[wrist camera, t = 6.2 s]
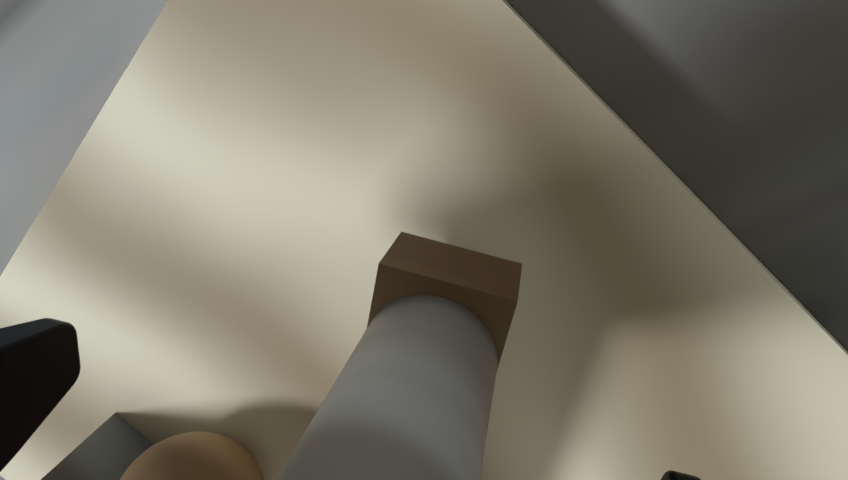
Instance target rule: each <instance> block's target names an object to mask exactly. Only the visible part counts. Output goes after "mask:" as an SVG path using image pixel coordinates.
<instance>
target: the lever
mask: <svg viewBox="0 0 848 480" xmlns="http://www.w3.org/2000/svg"><path fill="white" fill-rule="evenodd" d="M521 270H522V263H518V262H514V261H510V260H507V259H503V258H499V257H495V256H491V255H488V254H484V253H480V252H476V251H473V250H469V249H465V248H461V247H458V246H454V245H450V244H446V243H443V242H439V241H435V240H431V239H428V238H424V237H420V236H416V235H413V234H409V233H405V232H401V233H400V234H399V236H398V237H397V238H396V240H395V241H394V243H393V244H392V245H391V247H390V248H389V250H388V251H387V252H386V254H385V255H384V257H383V258H382V259H381V261H380V262H379V264H378V270H377V275H376V281H375V286H374V292H373V297H372V302H371V308H370V313H369V319H368V324H367V329H366V331H365V333H364V334H363V336H362V338H361V339H360V341H359V343H358V344H357V346H356V348H355V349H354V351H353V353H352V354H351V356H350V358H349V359H348V361H347V363H346V364H345V366H344V368H343V369H342V371H341V373H340V374H339V376H338V378H337V379H336V381H335V383H334V384H333V386H332V388H331V389H330V391H329V393H328V394H327V396H326V398H325V399H324V401H323V403H322V404H321V406H320V408H319V409H318V411H317V413H316V414H315V416H314V418H313V419H312V421H311V423H310V424H309V426H308V428H307V429H306V431H305V433H304V434H303V436H302V438H301V439H300V441H299V443H298V445H297V446H296V448H295V450H294V451H293V453H292V455H291V456H290V458H289V460H288V461H287V463H286V465H285V466H284V468H283V470H282V471H281V473H280V475H279V476H278V478H277V480H480V475H481V468H482V462H483V455H484V449H485V443H486V436H487V430H488V424H489V417H490V411H491V404H492V398H493V392H494V385H495V379H496V372H497V369H498V366H499V362H500V359H501V356H502V352H503V349H504V346H505V342H506V339H507V336H508V332H509V329H510V326H511V322H512V319H513V316H514V312H515V309H516V305H517V302H518V295H519V287H520V278H521Z"/></svg>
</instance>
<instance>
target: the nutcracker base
mask: <svg viewBox="0 0 848 480" xmlns="http://www.w3.org/2000/svg"><path fill="white" fill-rule="evenodd" d="M401 232H405V233H409V234H413V235H416V236H420V237H424V238H428V239H431V240H435V241H439V242H443V243H446V244H450V245H454V246H458V247H461V248H465V249H469V250H473V251H476V252H480V253H484V254H488V255H491V256H495V257H499V258H503V259H507V260H510V261H514V262H518V263H522V270H521V278H520V287H519V295H518V302H517V305H516V309H515V312H514V316H513V319H512V322H511V326H510V329H509V332H508V336H507V339H506V342H505V346H504V349H503V352H502V356H501V359H500V362H499V366H498V369H497V372H496V379H495V385H494V392H493V398H492V404H491V411H490V417H489V424H488V430H487V436H486V443H485V449H484V455H483V462H482V468H481V475H480V480H661V478H662V476H663V475H664V473H665V472H667V471H669V470H673V471H677V472H681V473H685V474H690V475H694V476H696V477H698V478H700V479H701V480H848V351H847V350H846V349H845V348H844V347H843V346H842V345H841V344H840V343H839V342H838V341H837V340H836V339H835V338H834V337H833V336H832V335H831V334H830V333H829V332H828V331H827V330H826V329H825V328H824V327H823V326H822V325H821V324H820V323H819V322H818V321H817V320H816V319H815V318H814V317H813V316H812V314H811V313H810V312H809V311H808V310H807V309H806V308H805V307H804V306H803V305H802V304H801V303H800V302H799V301H798V300H797V299H796V298H795V297H794V296H793V295H792V294H791V293H790V292H789V291H788V290H787V289H786V288H785V287H784V286H783V285H782V284H781V283H780V282H779V281H778V280H777V279H776V278H775V276H774V275H773V274H772V273H771V272H770V271H769V270H768V269H767V268H766V267H765V266H764V265H763V264H762V263H761V262H760V261H759V260H758V259H757V258H756V257H755V256H754V255H753V254H752V253H751V252H750V251H749V250H748V249H747V248H746V247H745V246H744V245H743V244H742V243H741V242H740V241H739V240H738V238H737V237H736V236H735V235H734V234H733V233H732V232H731V231H730V230H729V229H728V228H727V227H726V226H725V225H724V224H723V223H722V222H721V221H720V220H719V219H718V218H717V217H716V216H715V215H714V214H713V213H712V212H711V211H710V210H709V209H708V208H707V207H706V206H705V205H704V204H703V203H702V201H701V200H700V199H699V198H698V197H697V196H696V195H695V194H694V193H693V192H692V191H691V190H690V189H689V188H688V187H687V186H686V185H685V184H684V183H683V182H682V181H681V180H680V179H679V178H678V177H677V176H676V175H675V174H674V173H673V172H672V171H671V170H670V169H669V168H668V167H667V166H666V165H665V163H664V162H663V161H662V160H661V159H660V158H659V157H658V156H657V155H656V154H655V153H654V152H653V151H652V150H651V149H650V148H649V147H648V146H647V145H646V144H645V143H644V142H643V141H642V140H641V139H640V138H639V137H638V136H637V135H636V134H635V133H634V132H633V131H632V130H631V129H630V128H629V126H628V125H627V124H626V123H625V122H624V121H623V120H622V119H621V118H620V117H619V116H618V115H617V114H616V113H615V112H614V111H613V110H612V109H611V108H610V107H609V106H608V105H607V104H606V103H605V102H604V101H603V100H602V99H601V98H600V97H599V96H598V95H597V94H596V93H595V92H594V91H593V90H592V88H591V87H590V86H589V85H588V84H587V83H586V82H585V81H584V80H583V79H582V78H581V77H580V76H579V75H578V74H577V73H576V72H575V71H574V70H573V69H572V68H571V67H570V66H569V65H568V64H567V63H566V62H565V61H564V60H563V59H562V58H561V57H560V56H559V55H558V54H557V53H556V52H555V50H554V49H553V48H552V47H551V46H550V45H549V44H548V43H547V42H546V41H545V40H544V39H543V38H542V37H541V36H540V35H539V34H538V33H537V32H536V31H535V30H534V29H533V28H532V27H531V26H530V25H529V24H528V23H527V22H526V21H525V20H524V19H523V18H522V17H521V16H520V15H519V13H518V12H517V11H516V10H515V9H514V8H513V7H512V6H511V5H510V4H509V3H508V2H507V1H506V0H168V1H167V3H166V4H165V6H164V8H163V9H162V11H161V13H160V14H159V16H158V17H157V19H156V21H155V22H154V24H153V26H152V27H151V29H150V31H149V32H148V34H147V36H146V37H145V39H144V41H143V42H142V44H141V45H140V47H139V49H138V50H137V52H136V54H135V55H134V57H133V59H132V60H131V62H130V64H129V65H128V67H127V69H126V70H125V72H124V74H123V75H122V77H121V78H120V80H119V82H118V83H117V85H116V87H115V88H114V90H113V92H112V93H111V95H110V97H109V98H108V100H107V102H106V103H105V105H104V106H103V108H102V110H101V111H100V113H99V115H98V116H97V118H96V120H95V121H94V123H93V125H92V126H91V128H90V130H89V131H88V133H87V135H86V136H85V138H84V139H83V141H82V143H81V144H80V146H79V148H78V149H77V151H76V153H75V154H74V156H73V158H72V159H71V161H70V163H69V164H68V166H67V167H66V169H65V171H64V172H63V174H62V176H61V177H60V179H59V181H58V182H57V184H56V186H55V187H54V189H53V191H52V192H51V194H50V196H49V197H48V199H47V200H46V202H45V204H44V205H43V207H42V209H41V210H40V212H39V214H38V215H37V217H36V219H35V220H34V222H33V224H32V225H31V227H30V228H29V230H28V232H27V233H26V235H25V237H24V238H23V240H22V242H21V243H20V245H19V247H18V248H17V250H16V252H15V253H14V255H13V257H12V258H11V260H10V261H9V263H8V265H7V266H6V268H5V270H4V271H3V273H2V275H1V276H0V328H3V327H8V326H12V325H17V324H21V323H25V322H30V321H34V320H38V319H43V318H52V319H56V320H60V321H64V322H68V323H70V324H72V325H73V326H74V327H75V329H76V332H77V338H78V347H79V356H80V364H81V369H80V374H79V377H78V379H77V381H76V382H75V384H74V385H73V386H72V387H71V389H70V390H69V391H68V392H67V393H66V395H65V396H64V397H63V398H62V400H61V401H60V402H59V403H58V404H57V406H56V407H55V408H54V409H53V410H52V412H51V413H50V414H49V415H48V417H47V418H46V419H45V420H44V421H43V423H42V424H41V425H40V426H39V427H38V429H37V430H36V431H35V432H34V433H33V435H32V436H31V437H30V438H29V440H28V441H27V442H26V443H25V444H24V446H23V447H22V448H21V449H20V450H19V452H18V453H17V454H16V455H15V456H14V457H13V459H12V460H11V461H10V462H9V463H8V464H7V465H6V466H5V468H4V469H3V470H2V471H1V472H0V475H1V476H2V477H3V478H4V479H5V480H277V478H278V476H279V475H280V473H281V471H282V470H283V468H284V466H285V465H286V463H287V461H288V460H289V458H290V456H291V455H292V453H293V451H294V450H295V448H296V446H297V445H298V443H299V441H300V439H301V438H302V436H303V434H304V433H305V431H306V429H307V428H308V426H309V424H310V423H311V421H312V419H313V418H314V416H315V414H316V413H317V411H318V409H319V408H320V406H321V404H322V403H323V401H324V399H325V398H326V396H327V394H328V393H329V391H330V389H331V388H332V386H333V384H334V383H335V381H336V379H337V378H338V376H339V374H340V373H341V371H342V369H343V368H344V366H345V364H346V363H347V361H348V359H349V358H350V356H351V354H352V353H353V351H354V349H355V348H356V346H357V344H358V343H359V341H360V339H361V338H362V336H363V334H364V333H365V331H366V329H367V324H368V319H369V313H370V308H371V302H372V297H373V292H374V286H375V281H376V275H377V270H378V264H379V262H380V261H381V259H382V258H383V257H384V255H385V254H386V252H387V251H388V250H389V248H390V247H391V245H392V244H393V243H394V241H395V240H396V238H397V237H398V236H399V234H400V233H401Z"/></svg>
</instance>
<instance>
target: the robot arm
mask: <svg viewBox="0 0 848 480" xmlns="http://www.w3.org/2000/svg"><path fill="white" fill-rule="evenodd" d="M80 369H81V364H80V356H79V347H78V338H77V332H76V329H75V327H74V326H73V325H72V324H70V323H68V322H64V321H60V320H56V319H52V318H43V319H38V320H34V321H30V322H25V323H21V324H17V325H12V326H8V327H3V328H0V472H1V471H2V470H3V469H4V468H5V466H6V465H7V464H8V463H9V462H10V461H11V460H12V459H13V457H14V456H15V455H16V454H17V453H18V452H19V450H20V449H21V448H22V447H23V446H24V444H25V443H26V442H27V441H28V440H29V438H30V437H31V436H32V435H33V433H34V432H35V431H36V430H37V429H38V427H39V426H40V425H41V424H42V423H43V421H44V420H45V419H46V418H47V417H48V415H49V414H50V413H51V412H52V410H53V409H54V408H55V407H56V406H57V404H58V403H59V402H60V401H61V400H62V398H63V397H64V396H65V395H66V393H67V392H68V391H69V390H70V389H71V387H72V386H73V385H74V384H75V382H76V381H77V379H78V377H79V374H80ZM661 480H701V479H700V478H698V477H696V476H694V475H690V474H685V473H681V472H677V471H673V470H669V471H667V472H665V473H664V475H663V476H662V478H661Z"/></svg>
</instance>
